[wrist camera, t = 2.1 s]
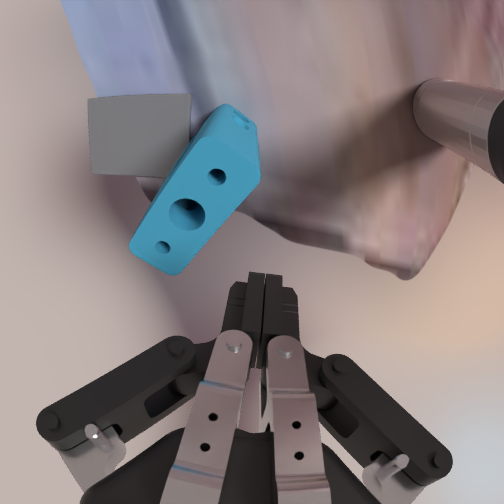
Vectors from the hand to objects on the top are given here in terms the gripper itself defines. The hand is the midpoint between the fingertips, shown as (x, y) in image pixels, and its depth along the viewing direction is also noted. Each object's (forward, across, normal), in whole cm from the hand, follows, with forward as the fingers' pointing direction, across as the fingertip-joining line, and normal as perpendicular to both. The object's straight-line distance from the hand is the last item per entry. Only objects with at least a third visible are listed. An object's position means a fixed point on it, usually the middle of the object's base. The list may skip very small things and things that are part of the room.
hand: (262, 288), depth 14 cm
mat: (+29, +19, 0) cm, 34 cm away
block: (+29, +8, 0) cm, 30 cm away
